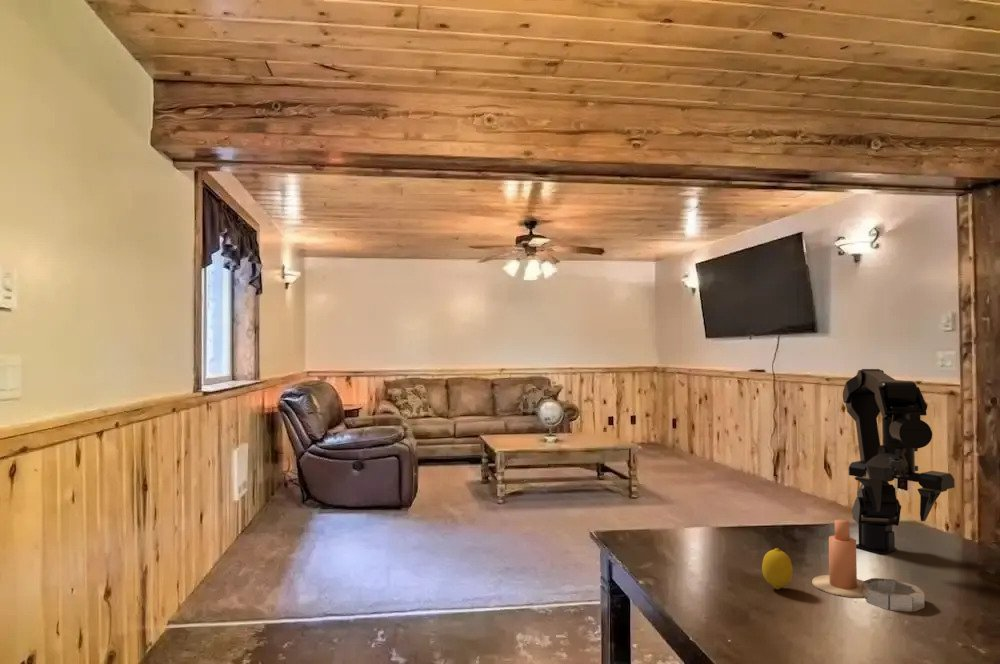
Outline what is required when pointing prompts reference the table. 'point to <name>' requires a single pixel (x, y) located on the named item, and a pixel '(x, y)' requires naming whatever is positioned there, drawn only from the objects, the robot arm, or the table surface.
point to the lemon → (777, 568)
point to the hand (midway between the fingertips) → (899, 516)
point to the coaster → (825, 585)
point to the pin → (842, 557)
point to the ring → (893, 594)
